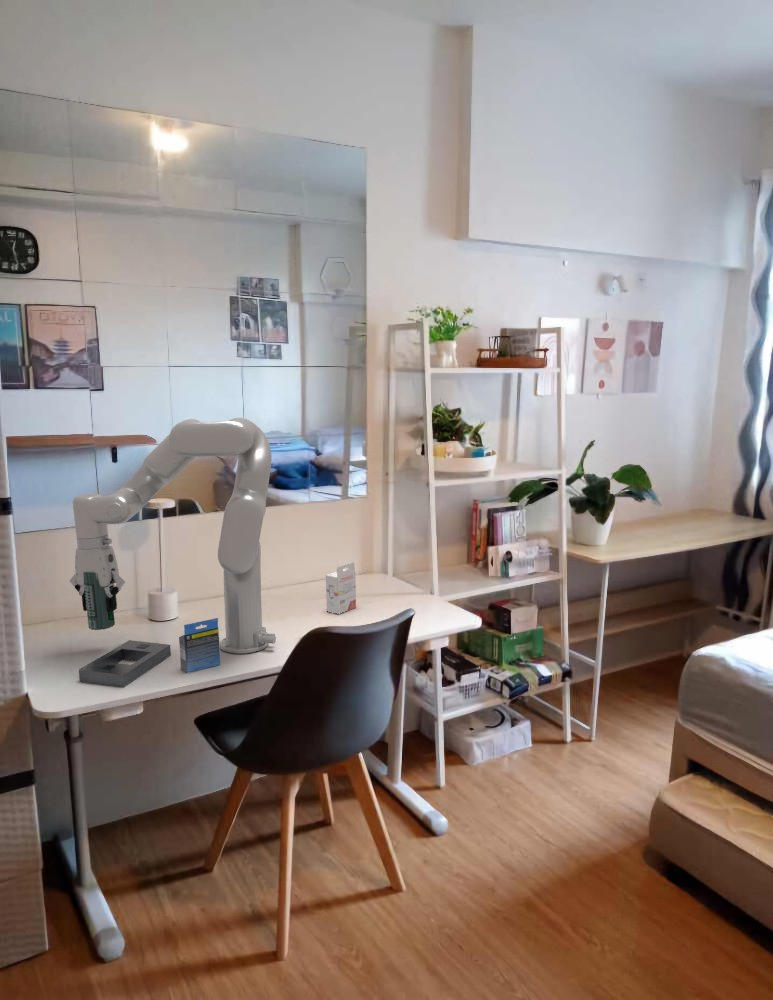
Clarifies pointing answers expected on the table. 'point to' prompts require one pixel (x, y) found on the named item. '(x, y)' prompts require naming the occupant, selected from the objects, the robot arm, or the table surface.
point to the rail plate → (119, 674)
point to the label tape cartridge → (199, 646)
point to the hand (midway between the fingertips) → (100, 609)
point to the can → (96, 603)
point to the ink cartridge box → (341, 589)
